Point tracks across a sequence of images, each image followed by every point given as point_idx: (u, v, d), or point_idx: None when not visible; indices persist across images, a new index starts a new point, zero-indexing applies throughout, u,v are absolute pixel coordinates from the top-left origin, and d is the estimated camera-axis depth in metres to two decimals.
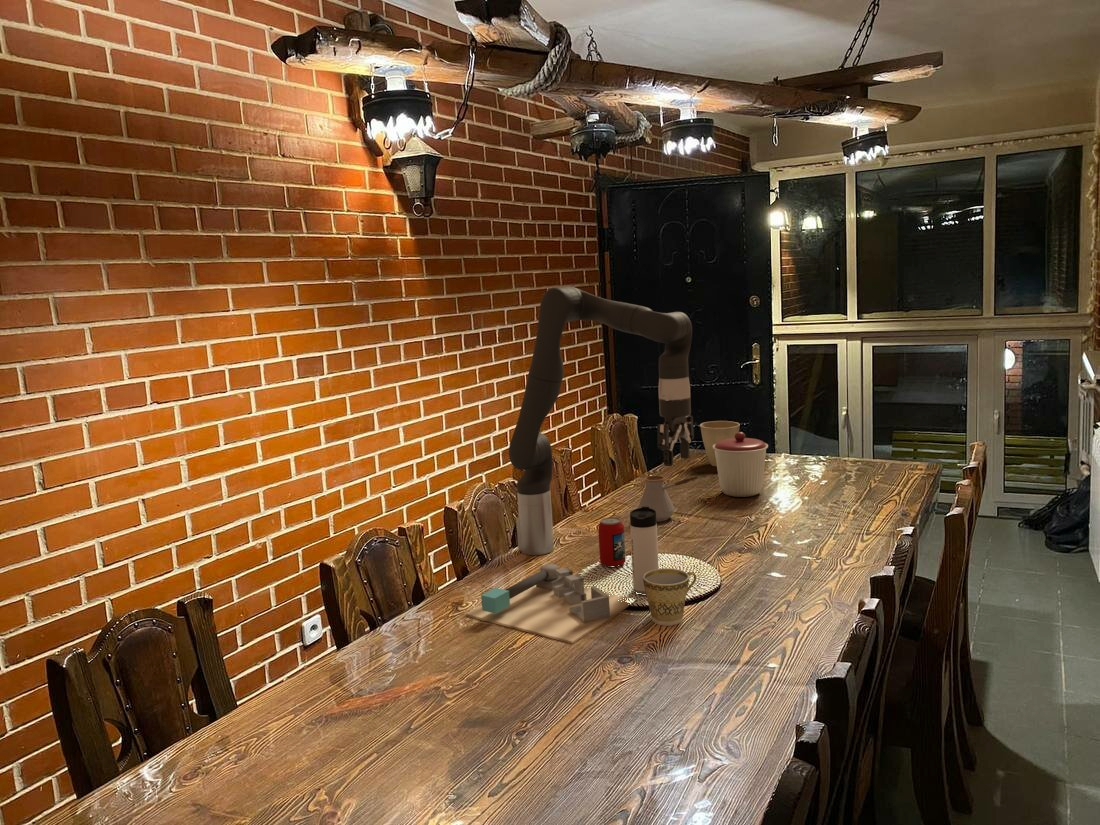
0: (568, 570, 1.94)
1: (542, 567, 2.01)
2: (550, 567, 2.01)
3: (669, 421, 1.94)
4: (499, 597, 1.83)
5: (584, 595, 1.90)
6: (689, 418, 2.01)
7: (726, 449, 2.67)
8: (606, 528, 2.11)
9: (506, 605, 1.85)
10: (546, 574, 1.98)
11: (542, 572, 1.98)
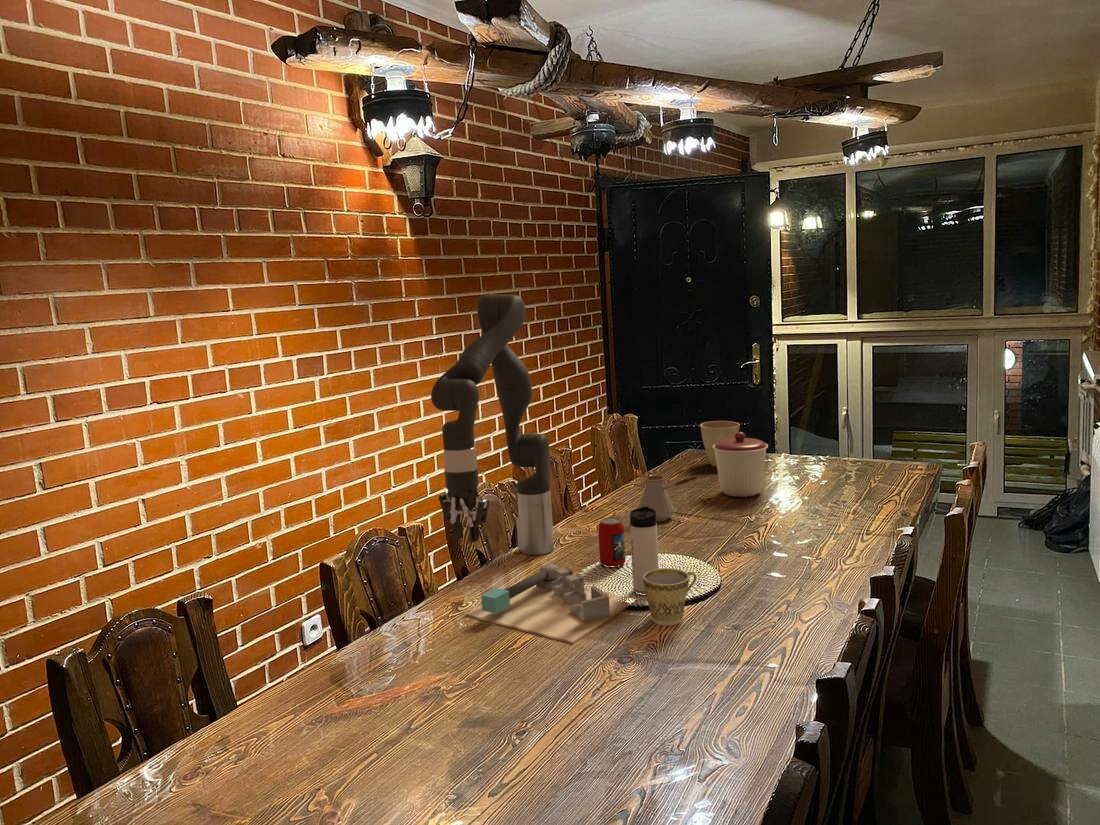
0: (568, 570, 1.94)
1: (542, 567, 2.01)
2: (550, 567, 2.01)
3: (476, 492, 1.84)
4: (499, 597, 1.83)
5: (584, 595, 1.90)
6: None
7: (726, 449, 2.67)
8: (606, 528, 2.11)
9: (506, 605, 1.85)
10: (546, 574, 1.98)
11: (542, 572, 1.98)
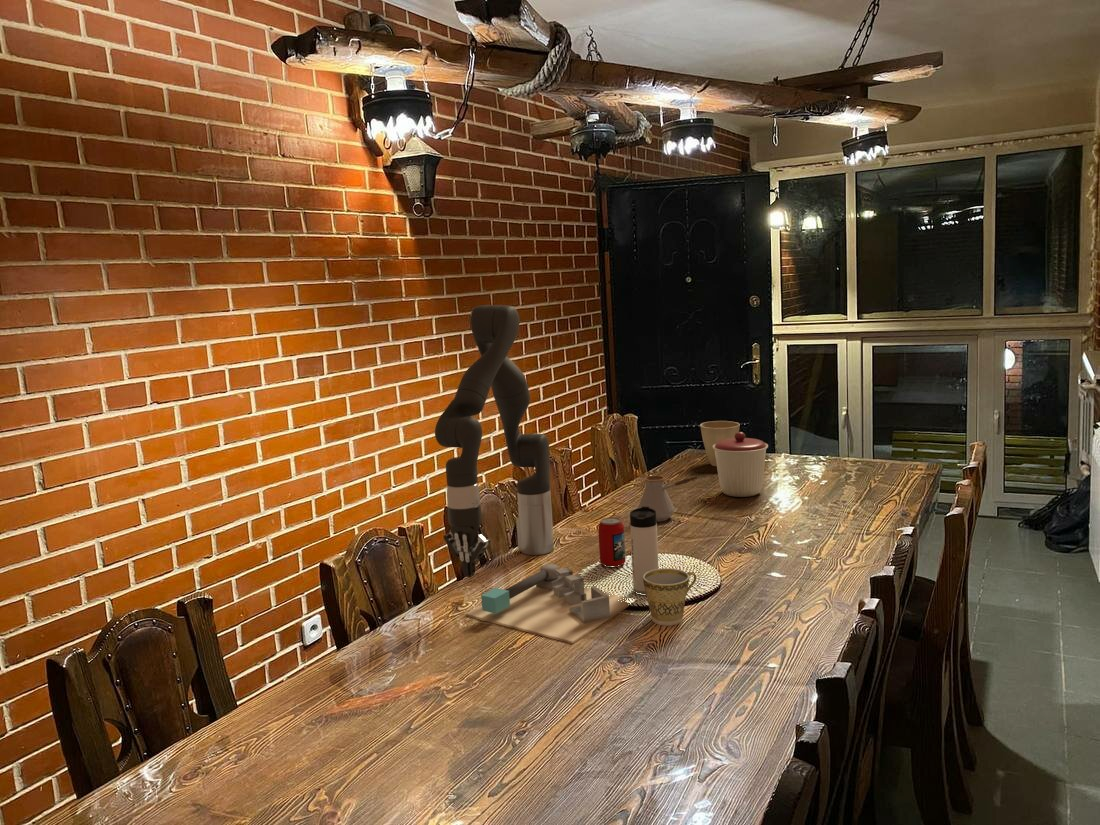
0: (568, 570, 1.94)
1: (542, 567, 2.01)
2: (550, 567, 2.01)
3: (479, 528, 1.85)
4: (499, 597, 1.83)
5: (584, 595, 1.90)
6: None
7: (726, 449, 2.67)
8: (606, 528, 2.11)
9: (506, 605, 1.85)
10: (546, 574, 1.98)
11: (542, 572, 1.98)
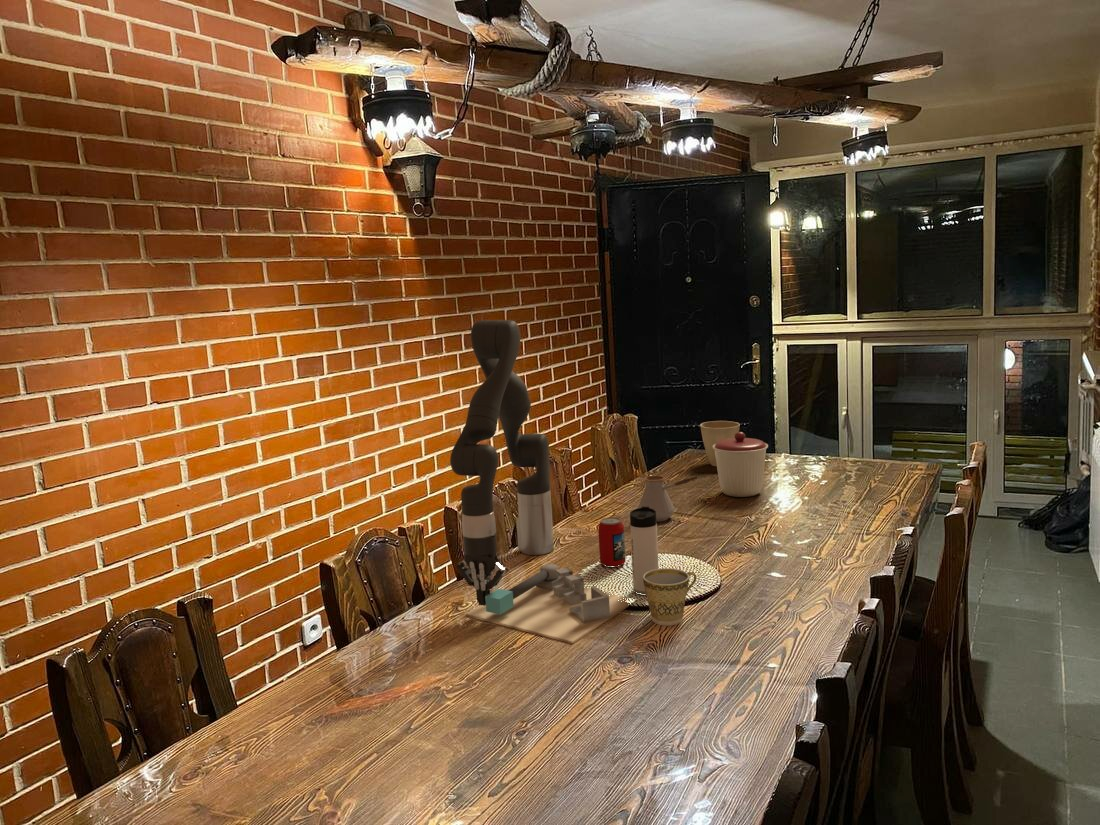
0: (568, 570, 1.94)
1: (542, 567, 2.01)
2: (550, 567, 2.01)
3: (496, 556, 1.84)
4: (503, 598, 1.82)
5: (584, 595, 1.90)
6: None
7: (726, 449, 2.67)
8: (606, 528, 2.11)
9: (510, 606, 1.85)
10: (547, 574, 1.98)
11: (543, 572, 1.98)
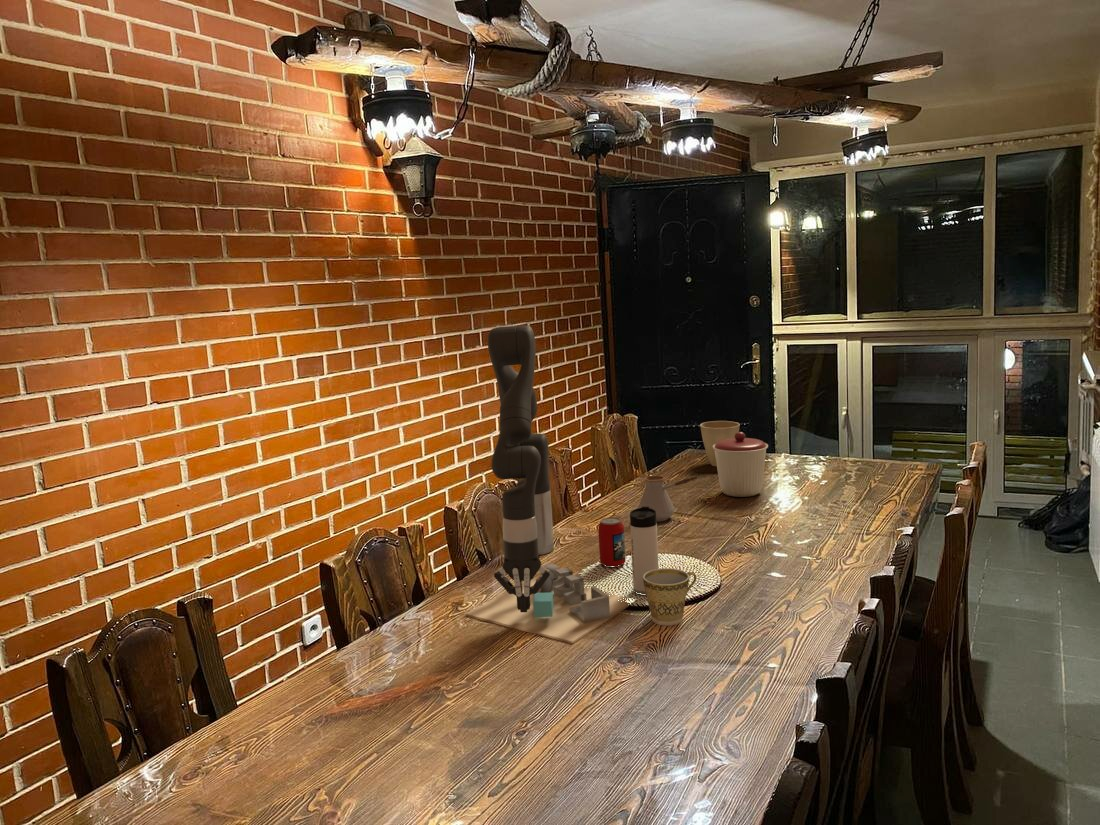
0: (568, 570, 1.94)
1: None
2: (550, 567, 2.01)
3: (538, 558, 1.80)
4: (551, 599, 1.80)
5: (584, 595, 1.90)
6: None
7: (726, 449, 2.67)
8: (606, 528, 2.11)
9: (553, 607, 1.82)
10: (553, 573, 1.99)
11: (550, 572, 1.98)
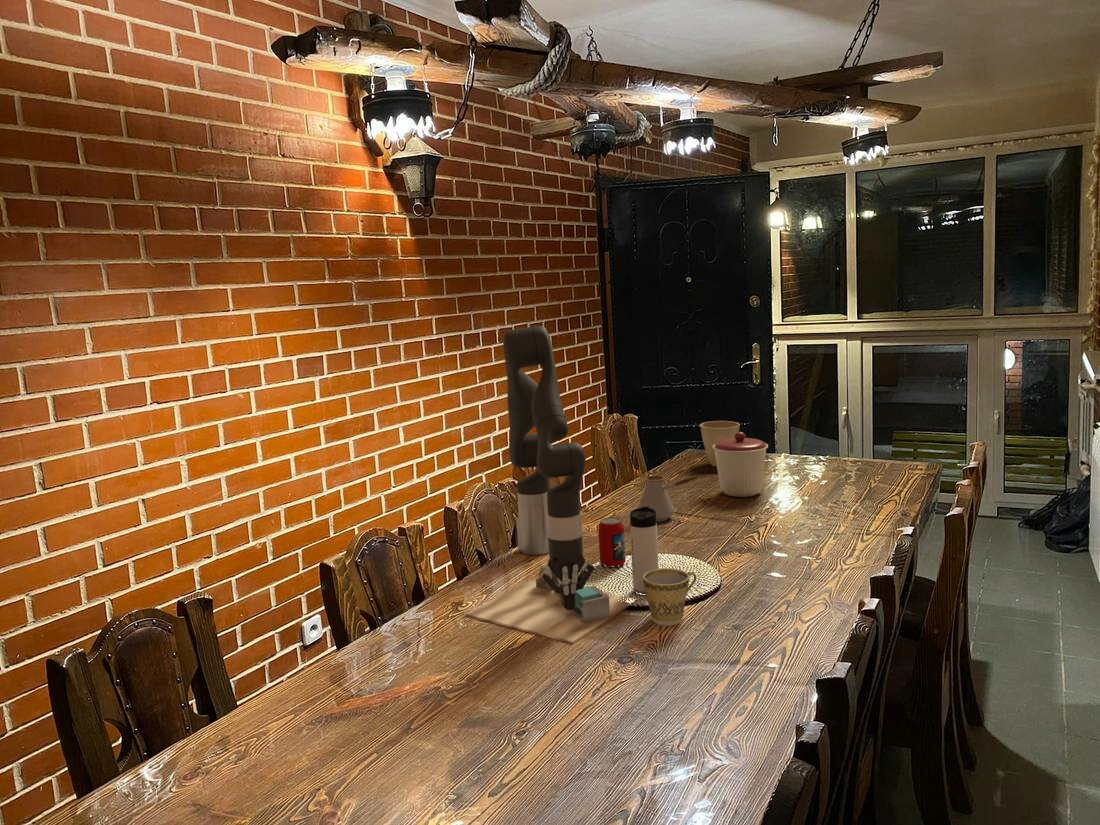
0: None
1: None
2: None
3: None
4: None
5: None
6: (543, 572, 1.79)
7: (726, 449, 2.67)
8: (606, 528, 2.11)
9: None
10: None
11: None
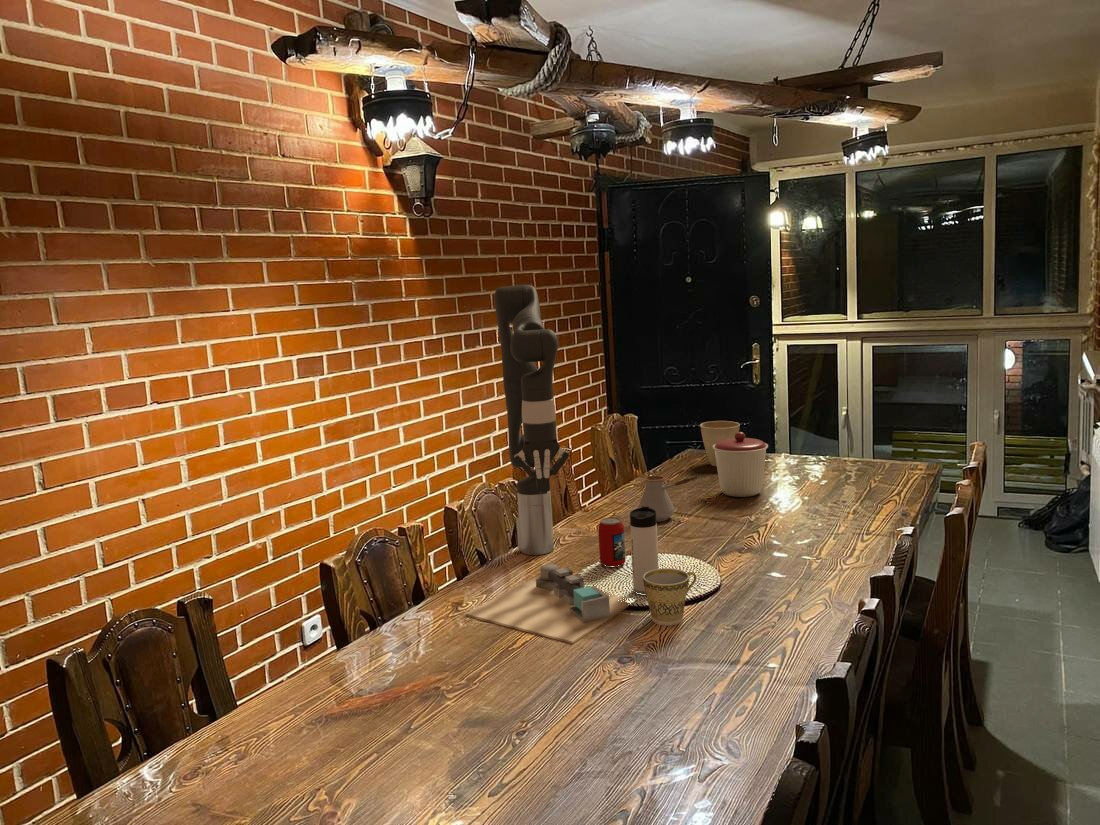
0: (568, 570, 1.94)
1: (545, 569, 2.00)
2: (550, 566, 2.01)
3: None
4: None
5: None
6: None
7: (726, 449, 2.67)
8: (606, 528, 2.11)
9: None
10: None
11: None
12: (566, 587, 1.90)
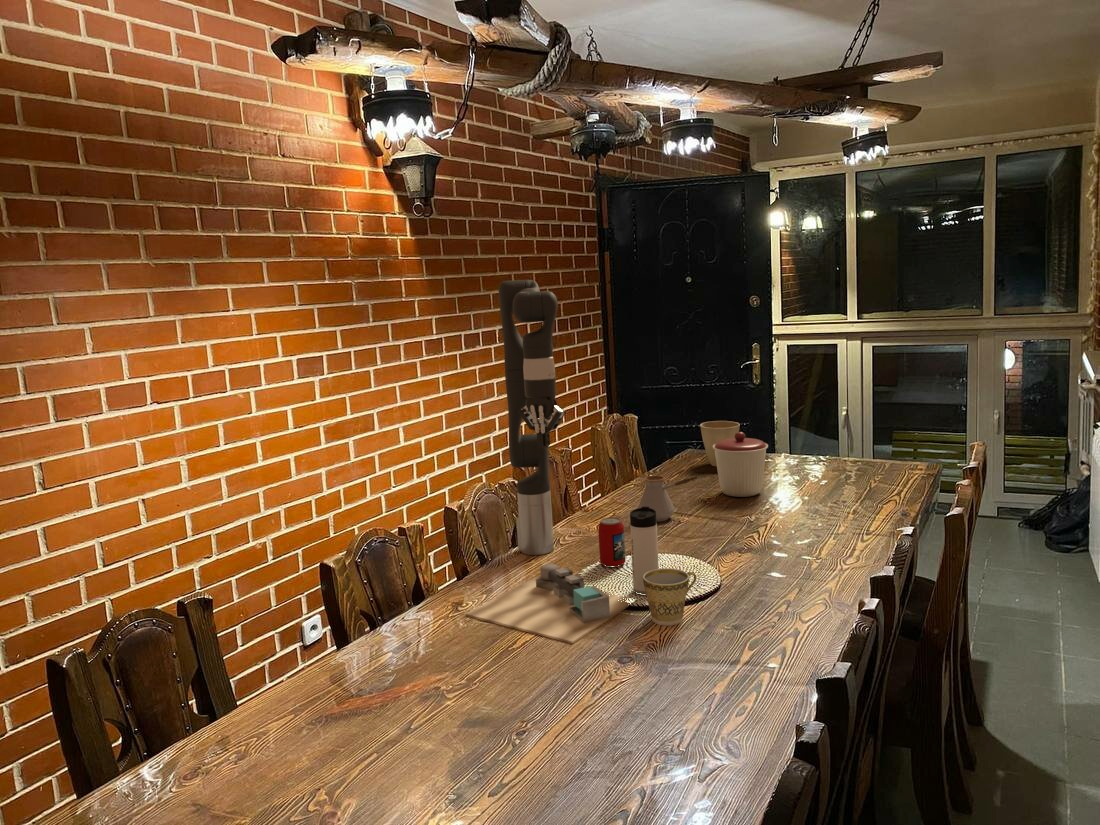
0: (568, 570, 1.94)
1: (545, 569, 2.00)
2: (550, 566, 2.01)
3: (554, 399, 1.93)
4: None
5: None
6: None
7: (726, 449, 2.67)
8: (606, 528, 2.11)
9: None
10: None
11: None
12: (566, 587, 1.90)
